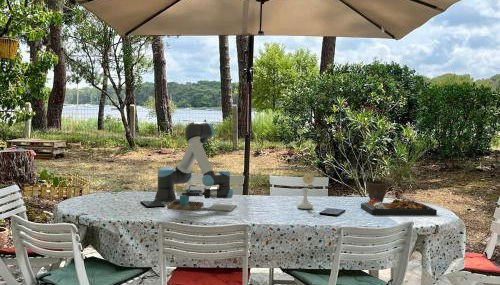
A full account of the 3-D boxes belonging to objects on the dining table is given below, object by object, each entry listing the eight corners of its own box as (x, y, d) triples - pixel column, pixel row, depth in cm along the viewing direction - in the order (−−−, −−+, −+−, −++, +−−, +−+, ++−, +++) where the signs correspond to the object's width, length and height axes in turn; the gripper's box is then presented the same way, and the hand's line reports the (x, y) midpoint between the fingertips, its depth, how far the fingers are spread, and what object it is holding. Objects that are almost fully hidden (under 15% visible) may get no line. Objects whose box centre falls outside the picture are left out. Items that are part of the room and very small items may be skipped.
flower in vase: (293, 208, 431) (294, 172, 429) (303, 206, 440) (304, 171, 438) (308, 211, 422) (309, 174, 421) (318, 209, 431) (319, 173, 429)
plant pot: (378, 206, 448) (379, 184, 446) (361, 203, 459) (362, 181, 458) (390, 204, 457) (391, 182, 456) (374, 201, 469) (375, 180, 467)
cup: (196, 205, 430) (196, 184, 430) (195, 207, 422) (195, 184, 422) (176, 206, 430) (176, 184, 430) (174, 207, 422) (174, 185, 422)
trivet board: (207, 210, 416) (207, 208, 416) (214, 205, 435) (214, 203, 435) (230, 211, 413) (230, 210, 413) (236, 206, 432) (236, 205, 432)
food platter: (372, 216, 414) (372, 200, 413) (360, 209, 438) (361, 194, 437) (436, 216, 420) (437, 201, 419) (421, 209, 444) (422, 195, 443)
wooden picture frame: (167, 208, 419) (167, 204, 419) (175, 203, 437) (175, 200, 436) (196, 210, 415) (196, 206, 415) (203, 205, 433) (203, 202, 433)
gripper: (211, 200, 419) (177, 200, 415) (208, 195, 439) (176, 195, 436) (211, 189, 418) (177, 189, 415) (208, 185, 439) (176, 185, 435)
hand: (176, 192), depth 425 cm, fingers closed on cup, 8 cm apart
